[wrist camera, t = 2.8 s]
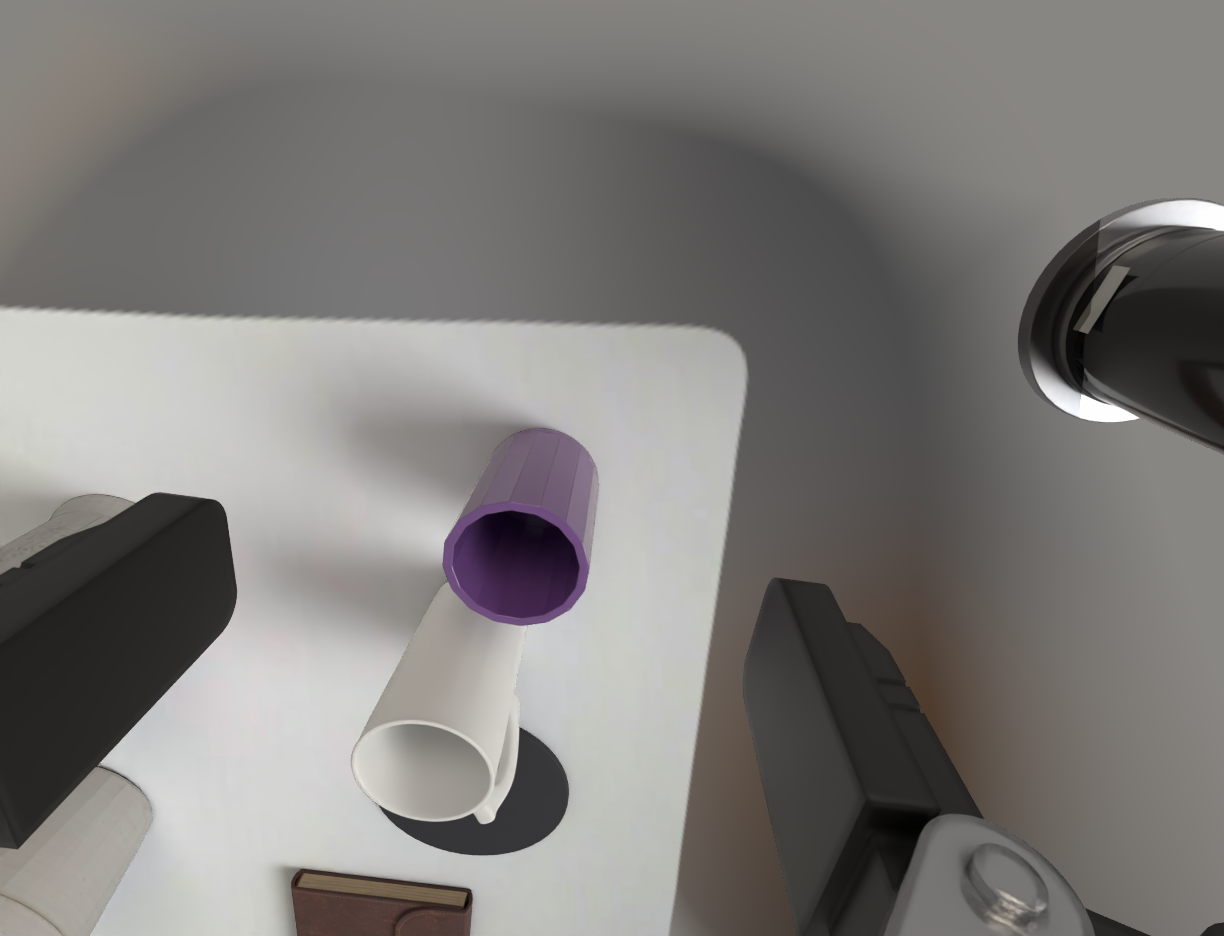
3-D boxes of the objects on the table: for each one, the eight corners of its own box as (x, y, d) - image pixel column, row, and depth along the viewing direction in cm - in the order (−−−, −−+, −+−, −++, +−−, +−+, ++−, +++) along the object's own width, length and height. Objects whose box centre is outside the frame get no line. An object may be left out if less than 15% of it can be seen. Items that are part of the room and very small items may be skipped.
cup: (584, 418, 33) (569, 490, 25) (609, 518, 36) (602, 614, 28) (473, 439, 34) (422, 516, 26) (505, 536, 37) (468, 634, 28)
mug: (409, 589, 38) (321, 745, 28) (500, 553, 37) (445, 702, 26) (487, 698, 42) (437, 874, 31) (573, 668, 41) (551, 841, 30)
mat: (540, 700, 42) (539, 705, 42) (588, 838, 48) (588, 845, 48) (342, 727, 44) (339, 733, 43) (412, 858, 50) (410, 864, 49)
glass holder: (20, 506, 37) (-341, 689, 23) (232, 469, 35) (-20, 641, 22) (96, 620, 40) (-178, 837, 27) (292, 590, 39) (107, 804, 25)
